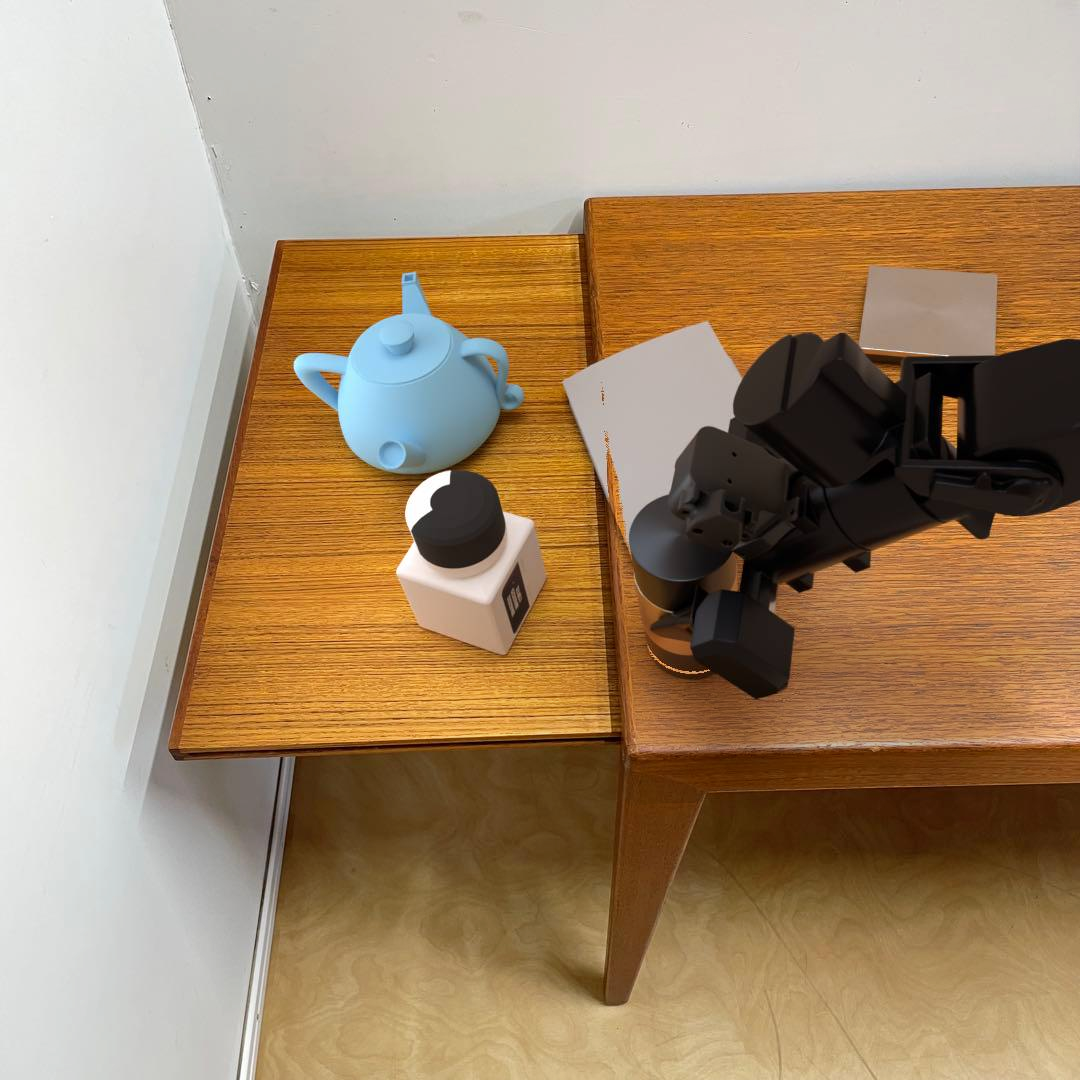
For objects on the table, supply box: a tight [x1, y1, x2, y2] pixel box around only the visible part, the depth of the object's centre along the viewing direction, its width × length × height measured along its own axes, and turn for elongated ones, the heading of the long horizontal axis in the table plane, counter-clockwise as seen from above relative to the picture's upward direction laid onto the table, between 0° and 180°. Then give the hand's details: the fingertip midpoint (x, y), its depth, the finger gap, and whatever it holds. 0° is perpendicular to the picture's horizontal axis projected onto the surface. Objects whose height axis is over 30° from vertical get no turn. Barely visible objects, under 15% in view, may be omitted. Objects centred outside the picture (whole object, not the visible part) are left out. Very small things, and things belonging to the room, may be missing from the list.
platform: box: [857, 265, 999, 366], centre depth 88 cm, size 11×11×2 cm
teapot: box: [293, 271, 525, 475], centre depth 85 cm, size 15×17×11 cm
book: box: [561, 320, 743, 557], centre depth 82 cm, size 15×23×4 cm, turn 15°
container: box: [395, 469, 547, 656], centre depth 72 cm, size 8×8×13 cm
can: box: [629, 494, 738, 680], centre depth 67 cm, size 7×7×14 cm
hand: (664, 583), depth 67 cm, fingers closed on can, 7 cm apart
